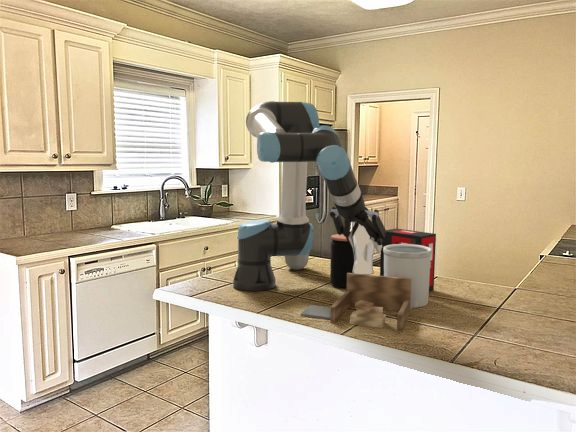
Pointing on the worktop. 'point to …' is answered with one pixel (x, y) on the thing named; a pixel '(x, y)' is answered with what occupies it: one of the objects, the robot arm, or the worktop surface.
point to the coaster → (317, 312)
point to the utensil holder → (410, 268)
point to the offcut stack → (368, 315)
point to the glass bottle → (297, 259)
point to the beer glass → (362, 250)
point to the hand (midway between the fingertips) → (367, 248)
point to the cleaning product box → (410, 238)
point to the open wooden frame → (376, 295)
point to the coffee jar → (340, 261)
